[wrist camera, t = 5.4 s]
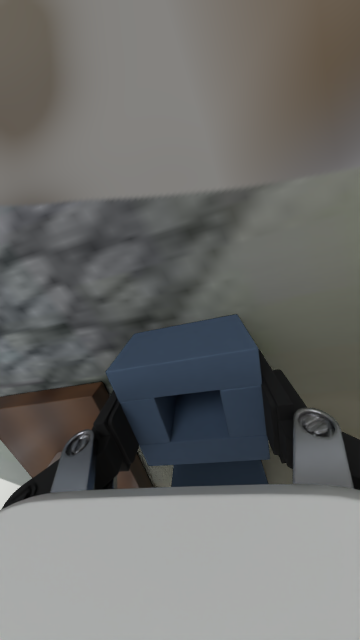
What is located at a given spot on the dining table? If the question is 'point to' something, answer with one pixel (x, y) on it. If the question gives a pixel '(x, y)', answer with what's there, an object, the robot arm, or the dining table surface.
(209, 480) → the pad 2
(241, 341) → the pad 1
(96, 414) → the wooden peg board
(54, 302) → the dining table surface
